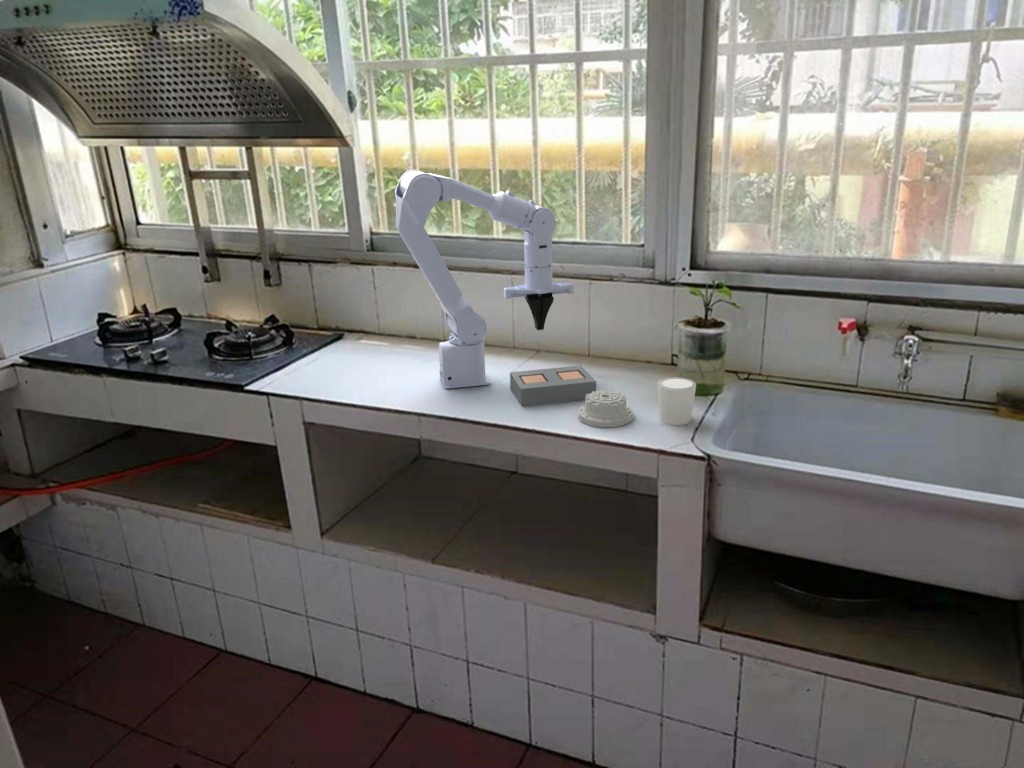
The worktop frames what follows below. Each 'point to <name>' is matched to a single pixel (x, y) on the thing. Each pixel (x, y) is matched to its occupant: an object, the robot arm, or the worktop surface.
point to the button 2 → (570, 375)
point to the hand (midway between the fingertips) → (539, 328)
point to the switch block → (551, 386)
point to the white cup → (676, 400)
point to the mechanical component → (605, 409)
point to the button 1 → (532, 379)
